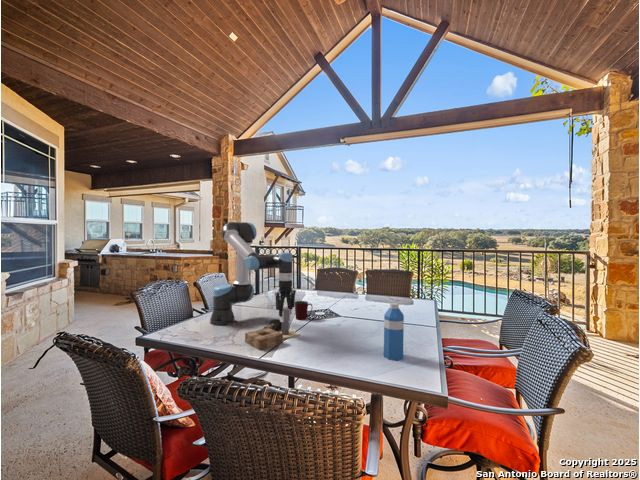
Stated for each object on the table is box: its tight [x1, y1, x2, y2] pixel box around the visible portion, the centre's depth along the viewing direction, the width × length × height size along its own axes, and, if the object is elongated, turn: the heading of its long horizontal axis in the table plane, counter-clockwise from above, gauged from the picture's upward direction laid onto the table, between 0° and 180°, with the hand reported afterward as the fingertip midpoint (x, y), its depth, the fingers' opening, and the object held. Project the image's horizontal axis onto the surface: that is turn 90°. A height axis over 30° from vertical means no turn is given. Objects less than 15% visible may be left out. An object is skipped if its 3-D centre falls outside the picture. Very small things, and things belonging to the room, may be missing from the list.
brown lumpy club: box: [262, 318, 282, 331], centre depth 176 cm, size 18×7×6 cm, turn 161°
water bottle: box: [383, 302, 405, 361], centre depth 141 cm, size 9×9×25 cm
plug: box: [281, 306, 290, 334], centre depth 169 cm, size 4×4×14 cm
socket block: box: [244, 327, 284, 351], centre depth 156 cm, size 14×14×5 cm
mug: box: [294, 300, 313, 321], centre depth 203 cm, size 12×9×11 cm
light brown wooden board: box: [277, 329, 301, 341], centre depth 170 cm, size 12×12×1 cm
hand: (285, 321), depth 170 cm, fingers closed on plug, 4 cm apart
